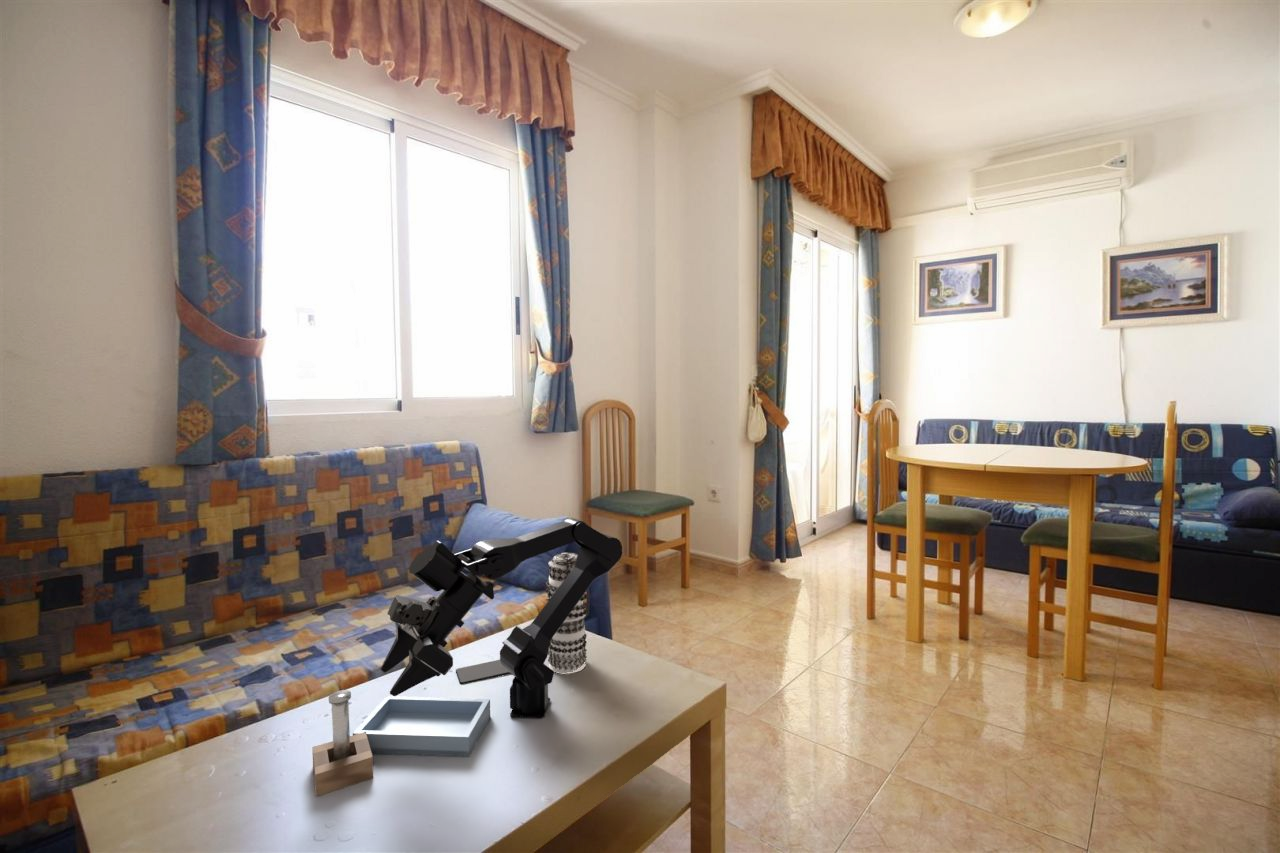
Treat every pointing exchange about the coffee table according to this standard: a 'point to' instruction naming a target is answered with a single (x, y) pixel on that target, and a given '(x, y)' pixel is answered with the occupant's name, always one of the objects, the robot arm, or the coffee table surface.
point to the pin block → (342, 765)
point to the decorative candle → (566, 621)
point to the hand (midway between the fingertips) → (387, 682)
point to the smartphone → (481, 672)
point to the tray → (426, 725)
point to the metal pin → (340, 723)
